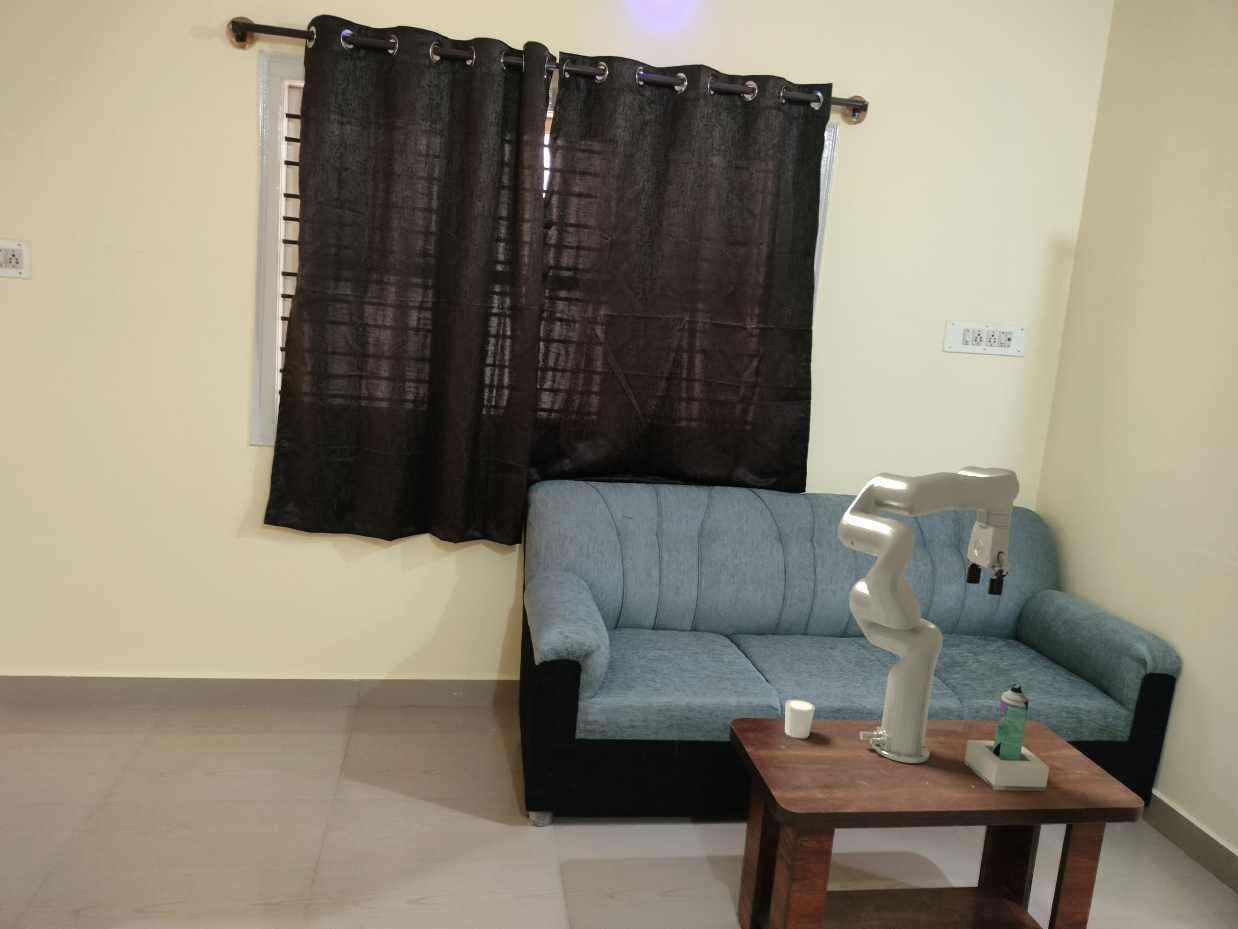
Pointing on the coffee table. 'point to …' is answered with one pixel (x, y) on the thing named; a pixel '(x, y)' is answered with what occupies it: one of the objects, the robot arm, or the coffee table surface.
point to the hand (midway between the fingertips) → (983, 588)
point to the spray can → (1011, 724)
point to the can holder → (1006, 768)
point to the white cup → (798, 718)
